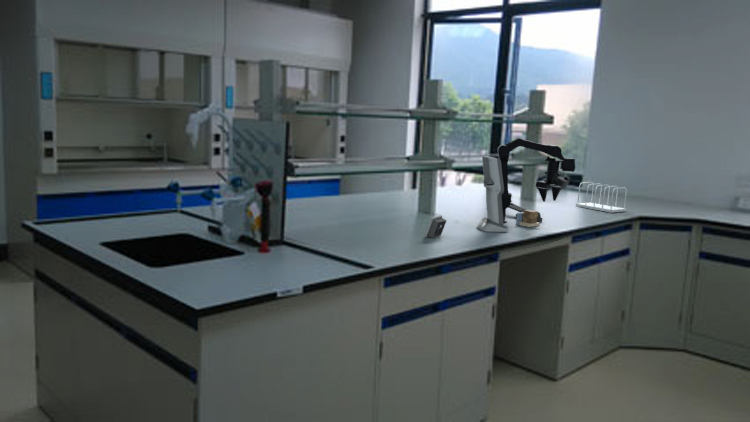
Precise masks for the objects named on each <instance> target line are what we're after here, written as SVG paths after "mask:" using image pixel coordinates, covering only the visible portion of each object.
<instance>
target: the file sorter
mask: <svg viewBox="0 0 750 422" xmlns="http://www.w3.org/2000/svg"><path fill="white" fill-rule="evenodd" d="M583 184H588V185H587V187H586V196H585V202H579V201H580V192H581V185H583ZM590 186H592V191H591V197H590V198H591V200H590V202H587V201H588V192H589V187H590ZM595 186H596V187H595ZM603 186H604V189H603ZM594 187H595V189H594ZM598 187H600V191H599V193H600V194H599V200H598V203H596V197H597V188H598ZM607 188H608V193H607V203H606V204H605V203H604V202H605V196H606V195H605V194H606V189H607ZM611 188H613V190H612V195H611V201H610V205H609V199H610V190H611ZM602 189H603V196H602ZM620 189H623V190H624V189H625V194H624V195H625V197H624V204H623V205H624V206H623V207H619V206H617V203H618V195H619V190H620ZM615 190H616V194H615V195H616V197H615V206H614V205H613V200H614V199H613V198H614V191H615ZM627 194H628V189H627V187H625V186H624V187H618V185H610V184H602V183H599V182H597V183H594V182H593V181H584V182H583V181H582V182H580V183H579V186H578V195H577V203H575V207H577V206H578V207H579V208H585V209H590V210H596V211H602V212H606V213H613V214H614V213H620V212H621V213H622V212H627V208H626V203H627V202H626V201H627ZM593 196H594V197H593ZM601 199H602V204H601Z"/></svg>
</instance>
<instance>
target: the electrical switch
mask: <svg viewBox="0 0 750 422" xmlns="http://www.w3.org/2000/svg"><path fill="white" fill-rule="evenodd" d="M446 224H447V219H445V218H443V215H437V216H433V217H431V218H430V220H429V223H428V226H427V229H426V231H425V235H424V237H425V238H427V237H428V238H429V237H430V238H432V239H436V238H437V237H441V236H442V233H443V231H444V228H445V227H446V226H445V225H446Z"/></svg>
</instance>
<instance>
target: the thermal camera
mask: <svg viewBox="0 0 750 422" xmlns="http://www.w3.org/2000/svg"><path fill="white" fill-rule="evenodd" d="M481 161H482V170H483V187H484V188H485V203H486V214H487V215H486V217H483V218H481V220H480V221H479V222H478V224H477V225H476V229H477V230H479V231H481V232H485V233H508V227H507V226H505V225H504V224H505V223H503V210H502V194H503V193H504V183H503V175H502V166H501V160H500V159H499V158H496V157H493V156H488V155H482V160H481Z"/></svg>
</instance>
